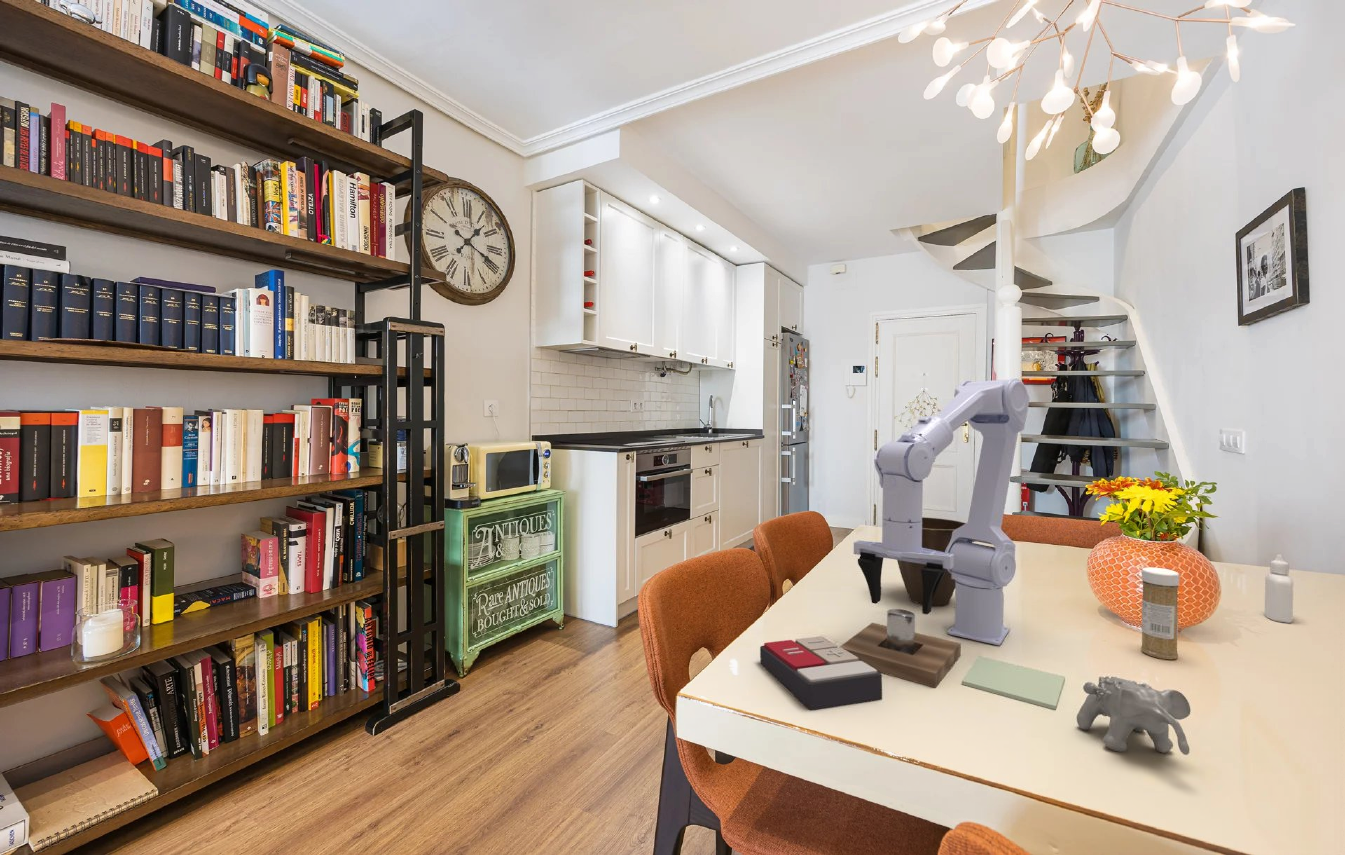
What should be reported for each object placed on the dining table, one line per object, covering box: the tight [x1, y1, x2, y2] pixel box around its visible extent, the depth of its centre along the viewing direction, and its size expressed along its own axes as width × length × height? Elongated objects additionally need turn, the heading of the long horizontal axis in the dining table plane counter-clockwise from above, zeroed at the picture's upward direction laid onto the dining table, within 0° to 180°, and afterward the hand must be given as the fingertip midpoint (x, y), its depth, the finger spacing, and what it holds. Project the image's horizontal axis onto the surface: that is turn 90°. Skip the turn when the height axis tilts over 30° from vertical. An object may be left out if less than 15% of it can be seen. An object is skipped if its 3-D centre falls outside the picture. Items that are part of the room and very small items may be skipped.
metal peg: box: [886, 608, 916, 655], centre depth 89 cm, size 4×4×7 cm
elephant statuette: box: [1076, 675, 1192, 756], centre depth 65 cm, size 9×12×8 cm
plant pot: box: [896, 516, 967, 607], centre depth 118 cm, size 15×15×16 cm
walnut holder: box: [839, 622, 962, 689], centre depth 89 cm, size 14×14×2 cm
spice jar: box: [1140, 566, 1180, 660], centre depth 91 cm, size 5×5×14 cm
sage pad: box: [961, 655, 1066, 711], centre depth 81 cm, size 11×11×1 cm
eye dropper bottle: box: [1264, 554, 1294, 624], centre depth 108 cm, size 4×6×12 cm
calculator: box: [759, 635, 883, 712], centre depth 82 cm, size 11×4×15 cm
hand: (900, 607), depth 89 cm, fingers open, 7 cm apart
